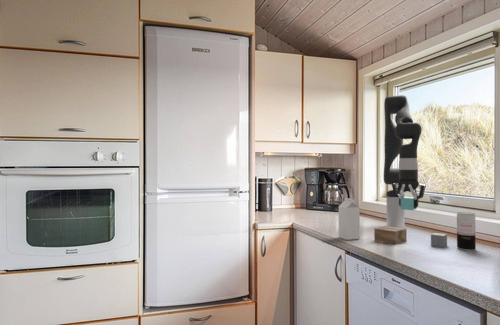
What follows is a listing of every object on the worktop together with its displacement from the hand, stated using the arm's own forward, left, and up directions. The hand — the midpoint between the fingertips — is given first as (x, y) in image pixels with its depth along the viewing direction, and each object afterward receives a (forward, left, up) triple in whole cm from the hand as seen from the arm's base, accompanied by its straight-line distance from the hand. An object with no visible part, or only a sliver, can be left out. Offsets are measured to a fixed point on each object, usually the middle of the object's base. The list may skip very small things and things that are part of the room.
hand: (408, 207), depth 152 cm
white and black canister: (-9, +20, -17) cm, 27 cm away
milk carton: (+4, -26, -17) cm, 31 cm away
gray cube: (-8, +10, -17) cm, 21 cm away
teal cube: (0, 0, -1) cm, 1 cm away
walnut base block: (-3, -9, -17) cm, 19 cm away
